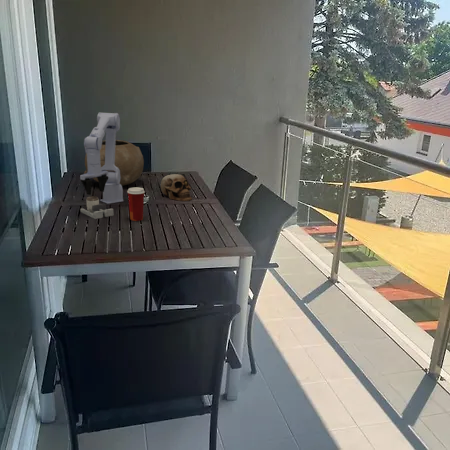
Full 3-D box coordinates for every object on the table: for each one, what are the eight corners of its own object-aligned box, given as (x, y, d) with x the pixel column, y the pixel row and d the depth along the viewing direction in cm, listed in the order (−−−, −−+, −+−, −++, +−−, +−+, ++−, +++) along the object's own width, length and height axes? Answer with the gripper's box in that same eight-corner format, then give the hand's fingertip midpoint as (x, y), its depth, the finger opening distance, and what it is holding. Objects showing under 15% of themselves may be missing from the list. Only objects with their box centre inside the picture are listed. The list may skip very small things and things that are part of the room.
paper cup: (148, 218, 206) (147, 188, 202) (139, 222, 199) (139, 191, 195) (133, 215, 208) (132, 186, 204) (124, 220, 202) (123, 189, 197)
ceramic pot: (117, 175, 289) (116, 136, 281) (155, 184, 270) (155, 142, 263) (74, 183, 263) (71, 140, 255) (112, 194, 244) (110, 147, 237)
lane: (98, 208, 217) (98, 202, 216) (113, 215, 208) (113, 209, 207) (80, 211, 211) (80, 205, 210) (94, 219, 201) (94, 212, 200)
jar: (96, 210, 214) (96, 195, 212) (101, 213, 210) (100, 198, 208) (85, 211, 211) (84, 197, 209) (89, 215, 207) (88, 199, 205)
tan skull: (191, 201, 236) (188, 176, 233) (158, 202, 238) (156, 177, 234) (194, 195, 251) (192, 171, 248) (164, 196, 253) (161, 173, 249)
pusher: (105, 212, 210) (104, 203, 208) (113, 216, 205) (113, 206, 203) (92, 215, 206) (92, 205, 204) (100, 219, 201) (100, 209, 199)
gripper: (100, 160, 210) (101, 188, 214) (74, 164, 198) (76, 194, 203) (110, 162, 206) (111, 191, 211) (85, 166, 195) (87, 196, 199)
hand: (95, 192), depth 206 cm, fingers open, 7 cm apart
